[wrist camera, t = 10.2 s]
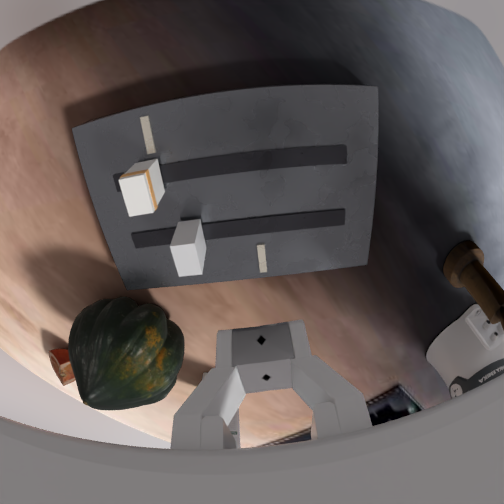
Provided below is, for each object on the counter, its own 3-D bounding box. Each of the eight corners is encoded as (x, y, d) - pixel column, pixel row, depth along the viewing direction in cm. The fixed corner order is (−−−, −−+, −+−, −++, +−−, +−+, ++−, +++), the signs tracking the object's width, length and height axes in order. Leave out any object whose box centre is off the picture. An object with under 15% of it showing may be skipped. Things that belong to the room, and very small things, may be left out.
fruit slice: (85, 371, 45) (77, 393, 41) (54, 358, 43) (45, 378, 39) (86, 348, 41) (77, 372, 37) (51, 333, 39) (40, 356, 35)
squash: (216, 379, 36) (151, 428, 22) (137, 394, 40) (67, 427, 26) (180, 278, 39) (99, 281, 24) (107, 309, 42) (30, 318, 28)
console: (364, 84, 22) (379, 86, 20) (358, 249, 32) (367, 265, 30) (86, 122, 23) (70, 128, 20) (133, 273, 33) (126, 291, 30)
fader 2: (200, 218, 26) (194, 243, 22) (206, 247, 27) (202, 274, 24) (178, 221, 26) (169, 246, 22) (185, 249, 27) (178, 276, 24)
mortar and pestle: (469, 274, 36) (530, 362, 21) (438, 282, 36) (499, 381, 21) (480, 237, 32) (556, 325, 17) (448, 243, 33) (526, 344, 18)
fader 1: (157, 157, 22) (144, 173, 19) (165, 192, 24) (154, 213, 21) (134, 162, 22) (117, 179, 19) (143, 196, 24) (128, 217, 21)
